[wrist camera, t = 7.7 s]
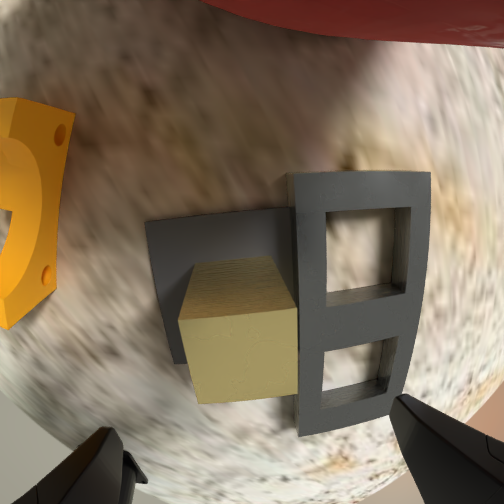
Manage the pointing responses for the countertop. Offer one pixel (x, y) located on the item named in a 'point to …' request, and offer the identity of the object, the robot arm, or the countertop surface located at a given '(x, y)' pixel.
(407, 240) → the gray slotted plate
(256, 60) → the countertop surface
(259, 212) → the mat
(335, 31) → the mixing bowl
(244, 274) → the pale yellow block
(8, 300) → the pipe clamp
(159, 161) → the countertop surface
